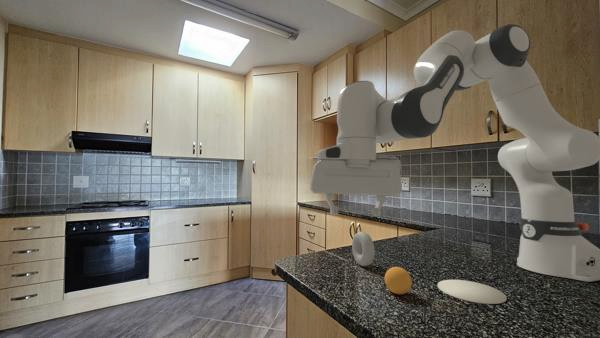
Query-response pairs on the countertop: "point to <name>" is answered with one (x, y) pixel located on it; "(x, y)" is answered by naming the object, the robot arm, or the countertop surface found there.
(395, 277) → the ball
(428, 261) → the countertop surface
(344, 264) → the countertop surface
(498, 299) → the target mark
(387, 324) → the countertop surface
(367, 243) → the donut
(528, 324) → the countertop surface
